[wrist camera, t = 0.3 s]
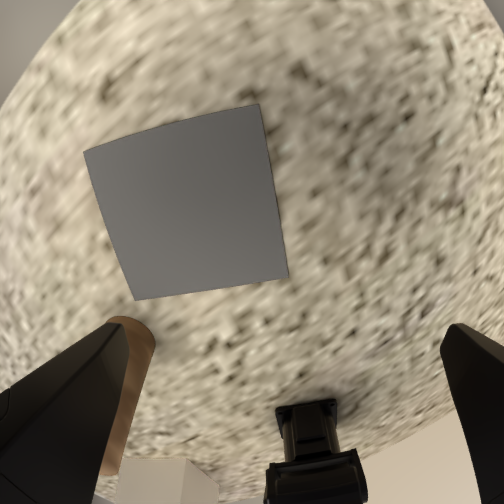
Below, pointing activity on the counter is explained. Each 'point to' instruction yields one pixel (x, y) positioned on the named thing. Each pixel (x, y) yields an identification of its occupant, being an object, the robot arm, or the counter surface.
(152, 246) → the mat
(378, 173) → the counter surface
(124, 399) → the pepper mill
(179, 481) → the milk
